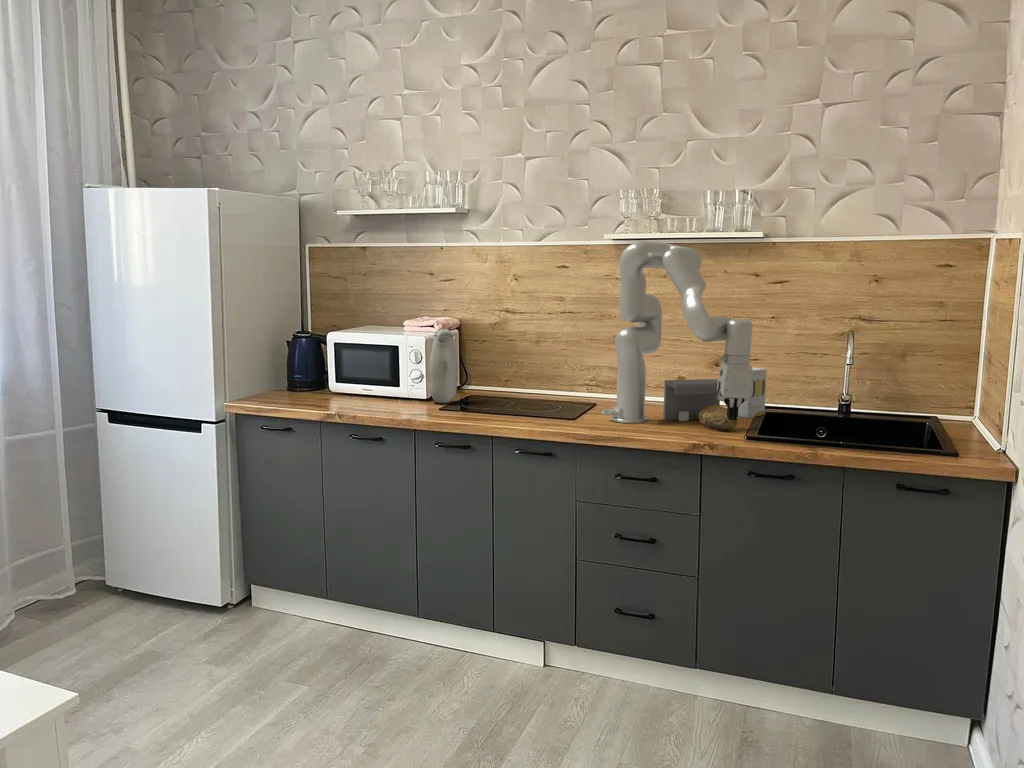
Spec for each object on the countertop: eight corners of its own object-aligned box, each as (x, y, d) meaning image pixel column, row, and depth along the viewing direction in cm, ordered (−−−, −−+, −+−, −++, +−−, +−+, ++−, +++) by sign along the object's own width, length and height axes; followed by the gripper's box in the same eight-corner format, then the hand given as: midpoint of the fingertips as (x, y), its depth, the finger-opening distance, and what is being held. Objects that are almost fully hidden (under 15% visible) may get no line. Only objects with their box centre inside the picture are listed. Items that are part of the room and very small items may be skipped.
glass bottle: (426, 402, 319) (426, 328, 315) (451, 400, 323) (451, 327, 319) (435, 405, 310) (434, 330, 306) (461, 404, 314) (460, 329, 311)
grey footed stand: (675, 424, 277) (676, 384, 275) (663, 419, 286) (664, 380, 285) (730, 422, 281) (732, 382, 279) (717, 417, 291) (718, 378, 289)
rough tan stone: (698, 424, 285) (692, 422, 266) (704, 401, 285) (698, 398, 266) (737, 434, 281) (734, 433, 262) (743, 411, 281) (740, 408, 262)
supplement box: (747, 418, 289) (750, 370, 287) (726, 414, 296) (728, 367, 294) (765, 416, 295) (767, 368, 292) (744, 412, 302) (746, 365, 300)
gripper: (719, 362, 248) (715, 422, 251) (765, 362, 252) (760, 421, 255) (708, 358, 255) (704, 417, 259) (753, 358, 259) (748, 416, 262)
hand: (731, 419), depth 257 cm, fingers closed
